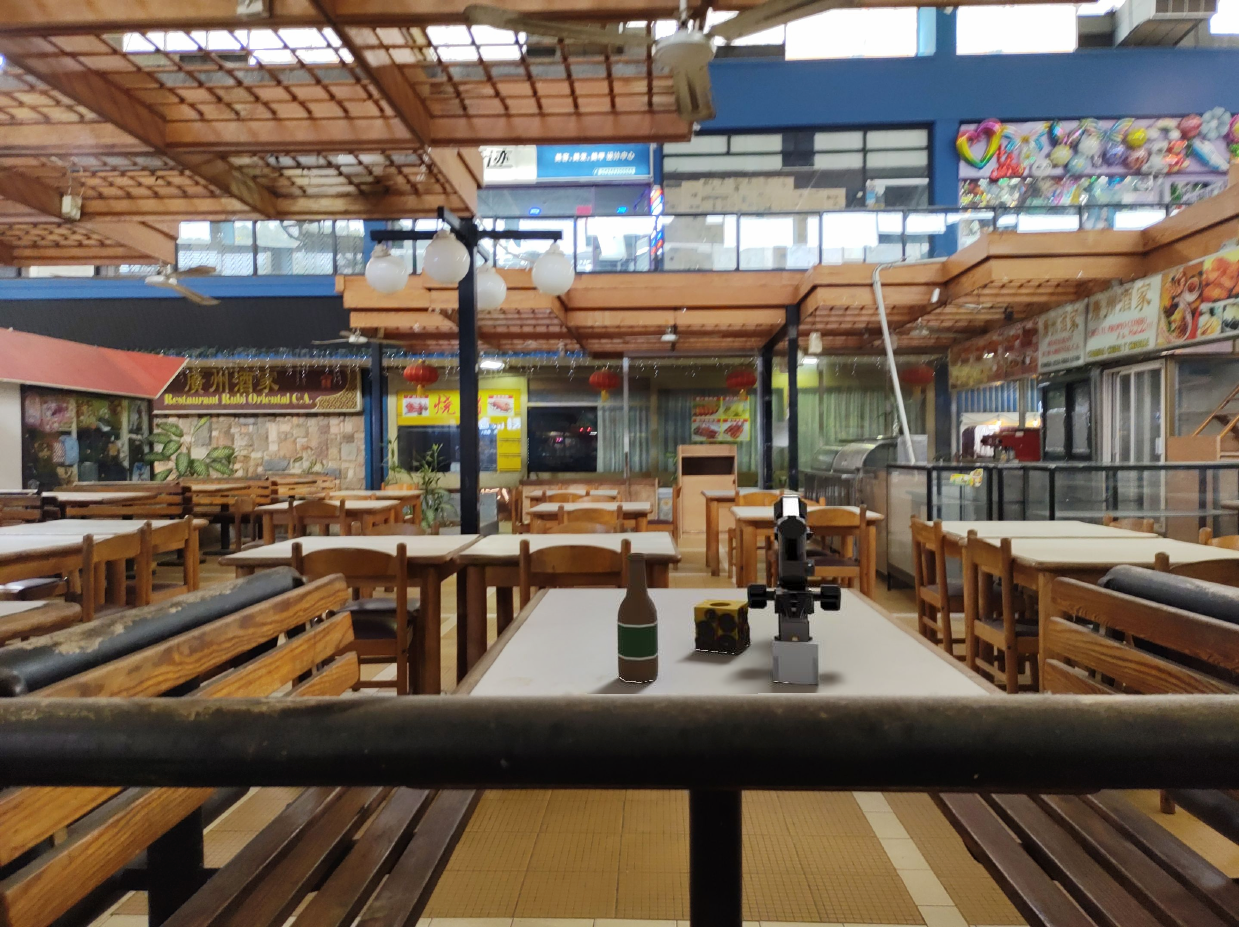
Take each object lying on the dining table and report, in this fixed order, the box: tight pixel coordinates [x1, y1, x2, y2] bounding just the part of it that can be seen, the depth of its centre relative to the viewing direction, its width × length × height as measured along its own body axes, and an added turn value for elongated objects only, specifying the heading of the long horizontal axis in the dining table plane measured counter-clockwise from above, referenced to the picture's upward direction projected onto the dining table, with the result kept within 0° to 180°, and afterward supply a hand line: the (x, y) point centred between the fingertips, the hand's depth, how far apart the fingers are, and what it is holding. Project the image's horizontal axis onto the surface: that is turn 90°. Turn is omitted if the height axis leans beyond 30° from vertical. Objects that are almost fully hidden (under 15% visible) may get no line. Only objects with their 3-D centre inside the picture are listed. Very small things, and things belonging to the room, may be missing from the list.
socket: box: [772, 640, 820, 685], centre depth 137 cm, size 9×8×8 cm
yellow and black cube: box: [693, 598, 751, 655], centre depth 160 cm, size 10×10×10 cm
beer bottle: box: [616, 552, 659, 682], centre depth 138 cm, size 8×8×24 cm
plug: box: [780, 618, 809, 642], centre depth 140 cm, size 6×5×10 cm
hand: (794, 631), depth 143 cm, fingers closed, pressing on plug
